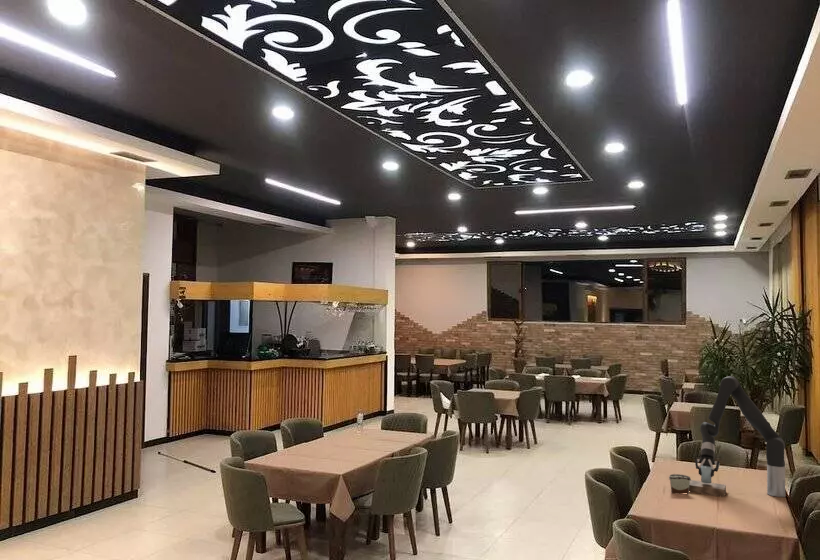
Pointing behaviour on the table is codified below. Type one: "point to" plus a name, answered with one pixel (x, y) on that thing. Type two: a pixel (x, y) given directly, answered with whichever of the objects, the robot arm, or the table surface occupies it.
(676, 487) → the food container
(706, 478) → the ceramic jar
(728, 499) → the table surface
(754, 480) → the table surface
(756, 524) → the table surface
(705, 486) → the walnut stand
